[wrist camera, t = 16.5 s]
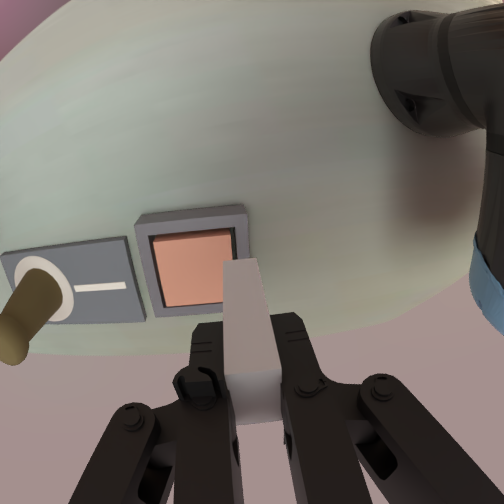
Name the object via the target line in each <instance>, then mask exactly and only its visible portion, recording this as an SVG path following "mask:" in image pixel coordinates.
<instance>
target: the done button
mask: <svg viewBox="0 0 504 504" xmlns="http://www.w3.org/2000/svg"><path fill="white" fill-rule="evenodd" d="M153 245H154V250H155V255H156V260H157V265H158V270H159V275H160V279H161V284H162V288H163V293H164V297H165V301H166V306H167V307H168V306H181V305H193V304H205V303H216V302H223V261H228V260H232V249H231V236H230V229H229V227H228V228H217V229H207V230H196V231H186V232H176V233H167V234H157V235H156V237H155V239H154V241H153Z"/></svg>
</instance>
